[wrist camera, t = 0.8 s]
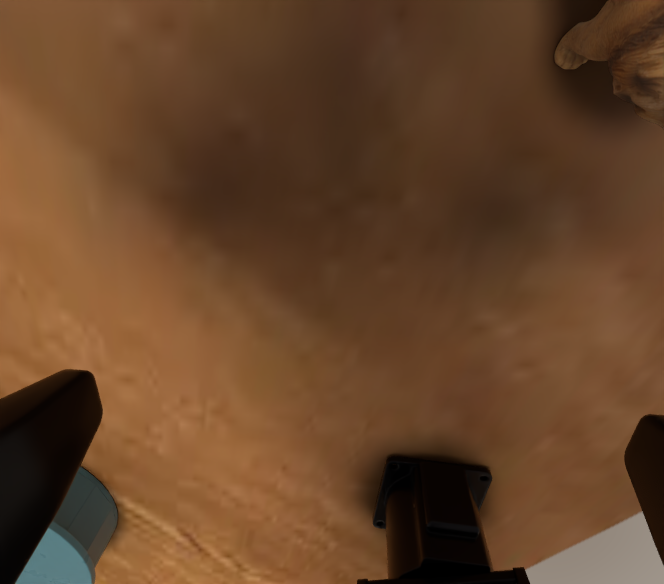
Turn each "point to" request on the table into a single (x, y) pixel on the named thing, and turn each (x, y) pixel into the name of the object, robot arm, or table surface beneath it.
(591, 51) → the lion figurine
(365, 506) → the table surface
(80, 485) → the tin
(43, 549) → the tin lid
